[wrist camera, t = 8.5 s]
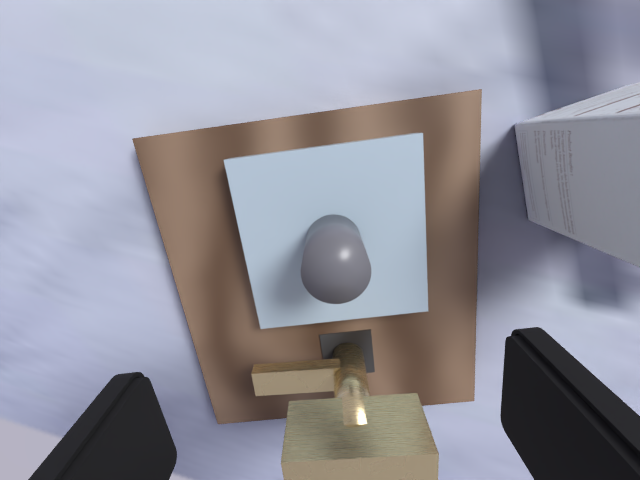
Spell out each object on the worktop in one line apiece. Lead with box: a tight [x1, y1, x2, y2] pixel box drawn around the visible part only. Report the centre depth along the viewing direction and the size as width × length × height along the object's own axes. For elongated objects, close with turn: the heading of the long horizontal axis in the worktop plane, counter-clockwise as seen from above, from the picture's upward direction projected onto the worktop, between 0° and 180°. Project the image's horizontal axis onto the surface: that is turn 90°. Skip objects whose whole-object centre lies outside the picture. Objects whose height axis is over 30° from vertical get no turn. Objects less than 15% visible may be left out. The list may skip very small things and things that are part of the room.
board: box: [133, 89, 482, 424], centre depth 25 cm, size 22×24×2 cm
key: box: [251, 343, 439, 480], centre depth 21 cm, size 2×11×9 cm, turn 95°
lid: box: [224, 133, 428, 329], centre depth 20 cm, size 12×12×6 cm
